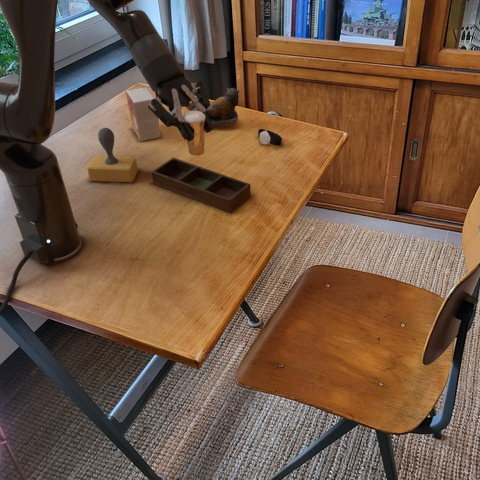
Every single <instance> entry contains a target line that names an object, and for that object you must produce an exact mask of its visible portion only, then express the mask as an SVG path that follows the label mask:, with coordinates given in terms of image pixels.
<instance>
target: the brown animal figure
mask: <svg viewBox="0 0 480 480" xmlns="http://www.w3.org/2000/svg"><path fill="white" fill-rule="evenodd" d="M239 94H240V89H239V88H235V87H230V88H229V87H227V89H226V92H225V94H224V96H219V97H218V98H216V99H215V100H214V101H212V102H211V101H210V107H208V109H207V110H206V114H207V115H208V117H209V118H210V120H211V122H212V123H213V127H229V126H234V125H237V124H238V120H239V115H238V112H237V111H236V109H235V108H236V107H237V105H238V104H239V98H240V95H239Z"/></svg>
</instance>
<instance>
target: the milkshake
mask: <svg viewBox="0 0 480 480" xmlns="http://www.w3.org/2000/svg"><path fill="white" fill-rule="evenodd" d="M197 105H198V102H197ZM197 110H198V108H196V107H195V111H191V110H188V111H186V112H184V114H183V115H182V116H183V119H184V120H183V122H185V121H186V123H187V125H188V126H189V128H190V129H191V131H192V133H193V134H194V139H193V140H192V141H190V142H188V141H187V140H186V142H187V148H188V153H189V154H190V155H191V156H195V157H197V156H201V155H203V154H204V153H205V142H206V141H205V139H206V136H205V135H206V134H205V133H206V132H205V115H204V114H203V113H202V112H201V111H197Z"/></svg>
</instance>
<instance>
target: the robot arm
mask: <svg viewBox="0 0 480 480" xmlns="http://www.w3.org/2000/svg"><path fill="white" fill-rule="evenodd" d="M86 1H87V2H88V4H89V5H90V7H92V9H93V10H94V11H95V12H96V13H98V14H99V16H101V17H102V18H103V19H104V20H105V21H106V22H107V23H108V24H110V26H111V27H112V28H113V29H114V30H115V32H116V33H117V35H118V36H119V37H120V38H121V40H122V42H123V43H124V45H125V47H126V48H127V50H128V52H129V53H130V55H131V58H132V59H133V62H134V64H135V65H136V67H137V68H138V70H139V71H140V73H141V75H142V77H143V78H144V79H145V81H146V83H147V85H148V86H149V88H150V90H151V91H152V92H154V94H155V97H154V98H155V99H152V101H151V102H150V103H149V105H148V108H149V109H150V110H151V111H152V112H153V113H154V114H155V115H156V116H157V117H158V120H159V121H161V123H162V124H163V125H164V126H165V127H166V128H170V127H175V128H176V129H177V130H178V132H179V133H180V135H181V137H182V138H183V139H184V140H185V141H186V142H187V141H188V142H190V141H192V140H193V139H194V134H193V133H192V131H191V129H190V128H189V126H188V125H187V123H186V121H185V122H184V119H183V116H184V115H183V113H182V108H185V109H187V110H188V111H195V107H196V108H198V110H197V111H201V112H202V113H203V114H204V115H205V133H206V134H208V133H211V131H213V129H214V126H213V123H212V122H211V120H210V118H209V117H208V115H207V114H206V110H207V109H208V107H210V103H211V101H210V99H209V96H208V93H207V90H206V86H205V84H204V82H203V81H202V80H201V79H199V80H197V82H190V80H188V79H187V78H186V77H185V72H184V70H183V69H182V67H181V65H180V63H179V62H178V60H177V59H176V57H175V56H174V53H173V52H172V50H171V49H170V47H169V46H168V44H167V42H166V41H165V40H164V39H163V37H162V36H161V35H160V33H159V32H158V30H157V29H156V27H155V25H154V24H153V22H152V20H151V18H150V17H149V15H148V14H147V13H146V11H144V10H142V9H134V10H130V11H126V12H120V11H119V10H120V9H122V8H123V7H125V6H127V5H128V4H131V3H132V2H133V1H135V0H86ZM58 6H59V0H0V9H1V12H2V14H3V15H2V16H3V17H4V19H5V21H6V23H7V26H8V28H9V30H10V32H11V35H12V37H13V39H14V42H15V46H16V49H17V56H18V83H12V82H4V81H0V171H1V172H2V173H3V174H4V177H5V179H6V180H5V181H6V182H7V185H8V188H9V190H10V193H11V197H12V200H13V202H14V204H15V205H14V206H15V208H16V210H17V213H16V214H15V215H14V218H15V221H16V224H17V226H18V230H19V232H20V234H21V237H22V238H21V239H22V240H20V241H19V245H20V247H21V250H22V252H23V255H24V256H23V257H22V259H21V260H20V262H19V263H18V264H17V266H16V268H15V270H14V271H13V275H12V278H11V280H10V283H9V287H8V289H7V292H6V294H5V297H4V300H3V302H2V304H1V306H0V317H1V316H2V315H3V313H4V312H5V310H6V308H7V307H8V305H9V302H10V300H11V297H12V294H13V292H14V289H15V287H16V284H17V280H18V277H19V274H20V272H21V270H22V268H23V267H24V265H25V264H26V263H27V262H28V260H29V259H31V260H33V261H36V262H37V263H40V264H42V263H44V264H46V265H47V266H52V265H53V264H55V263H61V262H63V261H64V262H65V261H66V260H70V259H71V258H72V257H74V256H75V255H78V253H79V252H80V250H81V249H82V246H83V242H82V238H81V236H80V233H79V226H78V224H77V222H76V219H75V216H74V212H73V209H72V205H71V201H70V199H69V195H68V192H67V188H66V185H65V181H64V178H63V173H62V170H61V167H60V164H59V161H58V160H59V159H58V157H57V155H56V154H55V152H54V151H53V150H51V149H50V148H49V147H47V146H45V145H43V144H44V143H45V142H46V141H47V140H48V139H49V138H50V136H51V134H52V132H53V129H54V124H55V118H56V75H55V74H56V73H55V70H56V69H55V54H56V53H55V51H56V50H55V49H56V29H57V15H58ZM197 102H198V105H197ZM163 105H164V106H166V107H167V108H165V107H164V106H163Z"/></svg>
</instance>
